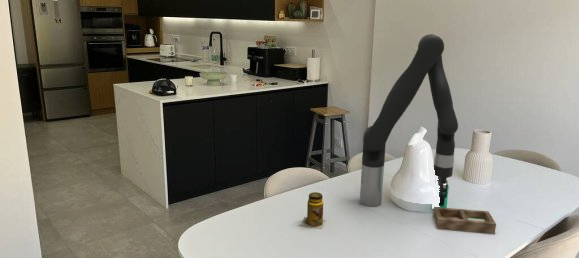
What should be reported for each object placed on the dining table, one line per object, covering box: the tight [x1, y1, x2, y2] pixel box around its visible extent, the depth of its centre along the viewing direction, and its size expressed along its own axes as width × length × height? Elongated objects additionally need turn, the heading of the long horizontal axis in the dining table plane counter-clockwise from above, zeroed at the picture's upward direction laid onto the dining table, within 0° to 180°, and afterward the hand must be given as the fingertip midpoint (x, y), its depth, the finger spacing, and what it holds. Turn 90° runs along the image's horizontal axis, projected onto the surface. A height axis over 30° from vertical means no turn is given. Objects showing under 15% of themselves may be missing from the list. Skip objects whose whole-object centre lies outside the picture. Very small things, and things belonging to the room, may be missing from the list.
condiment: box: [299, 191, 326, 229], centre depth 168 cm, size 7×8×12 cm
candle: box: [440, 185, 450, 208], centre depth 182 cm, size 6×6×12 cm
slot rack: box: [432, 207, 497, 235], centre depth 170 cm, size 20×11×4 cm, turn 80°
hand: (439, 201), depth 183 cm, fingers open, 7 cm apart
